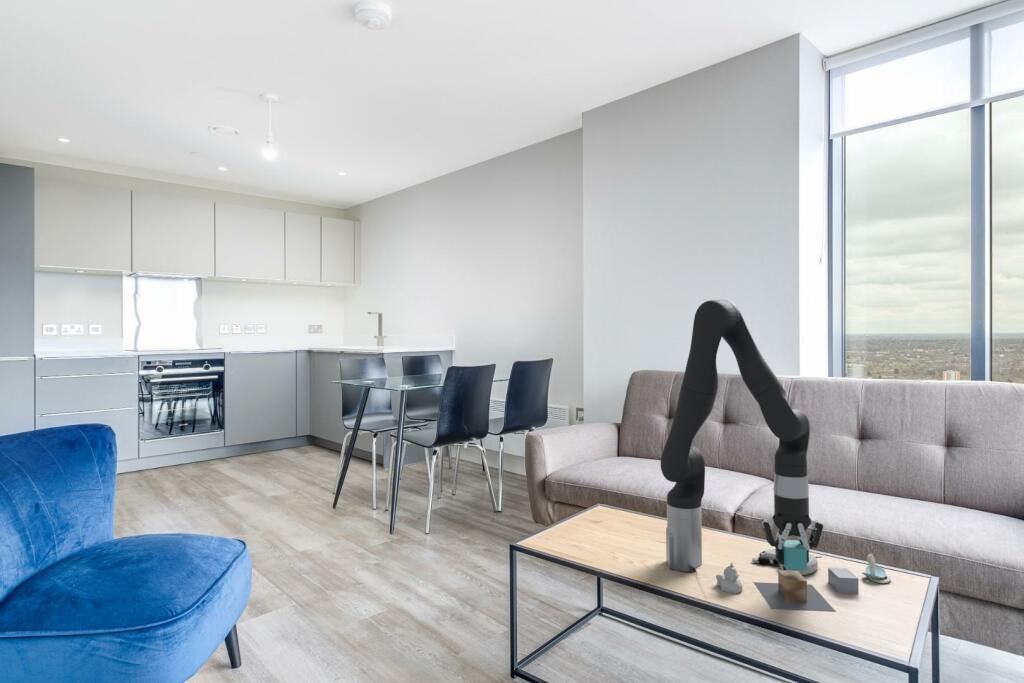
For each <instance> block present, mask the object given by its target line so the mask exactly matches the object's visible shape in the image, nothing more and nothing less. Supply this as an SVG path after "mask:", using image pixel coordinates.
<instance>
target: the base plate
mask: <svg viewBox="0 0 1024 683" xmlns="http://www.w3.org/2000/svg"><path fill="white" fill-rule="evenodd" d="M753 584H754V586H756V588H757V590H758V591H759V593H760V594H761V596H762V597H763V598H764V600H765V601H766V603H767V605H768V606H769V607H770V609H771V610H786V611H787V610H788V611H810V612H811V611H812V612H831V613H832V612H833V613H836V612H837V610H835V609H834V608H833V606H832V605H831V604H830V603H829V602H828V601H827V599H825V597H824V596H823V595H822V594H821V593H820V592H819V591H818V590H817V589H816V587H814V585H812V584H808V583H807V602H788V601H786V599H785V598H784V597H783V595H782V594H781V593H780V592H779V590H778V582H755V581H754V582H753Z"/></svg>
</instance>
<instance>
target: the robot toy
mask: <svg viewBox="0 0 1024 683" xmlns="http://www.w3.org/2000/svg"><path fill="white" fill-rule="evenodd" d="M822 558H823V556H821V555H819V556H814V555H813V554H809V562H808V563H807V571H805V570H794V571H798V572H799V573H800V574H801V575H802V576H806V575H810V574H812V573H814V572H815V571H817V569H818V568H819V566H818V565H819V564H818V559H822ZM751 561H752V563H755V564H756V563H758V565H762V566H767V565H769V564H770V565H774V566H778V567H779V569H780V570H787V569H786V568H785V567H784V566H783V565H782V564H780V563H779V562H778V561H777V560H776V551H775V548H773V549H770V548H769V549H768V550H767V549H766V550H762V551H761V552H760V553H759V556H758V557H753V558H751Z"/></svg>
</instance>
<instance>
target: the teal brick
mask: <svg viewBox="0 0 1024 683" xmlns="http://www.w3.org/2000/svg"><path fill="white" fill-rule="evenodd" d="M783 550H784V565H783V564H782V565H783V566H784V567H785V568H786V569H787V570H805V571H807V549H806V548H805V547H804V546H803V545H802V544H801V543H800V541H799V540H798V539H794V540H793V539H787V540H786V541H785V544H784V547H783Z"/></svg>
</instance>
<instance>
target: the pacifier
mask: <svg viewBox="0 0 1024 683" xmlns="http://www.w3.org/2000/svg"><path fill="white" fill-rule="evenodd" d="M866 561H867V563H868V566H866V568H865V572H861V574H862V575H863V576H867V578H868V579H869V580H870V579H871V580H870V581H873V582H875V583H878V584H887V583H890V582H891V581H892V579H891V577H890V576H889V575H888V574H887V573H886V571H885V569H884V568H882V566H879V565H876V558H875V556H874V554H872V553H868V555H867V557H866ZM885 577H886V578H887V579H886V578H885ZM884 578H885V579H884ZM881 579H882V580H881Z"/></svg>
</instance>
